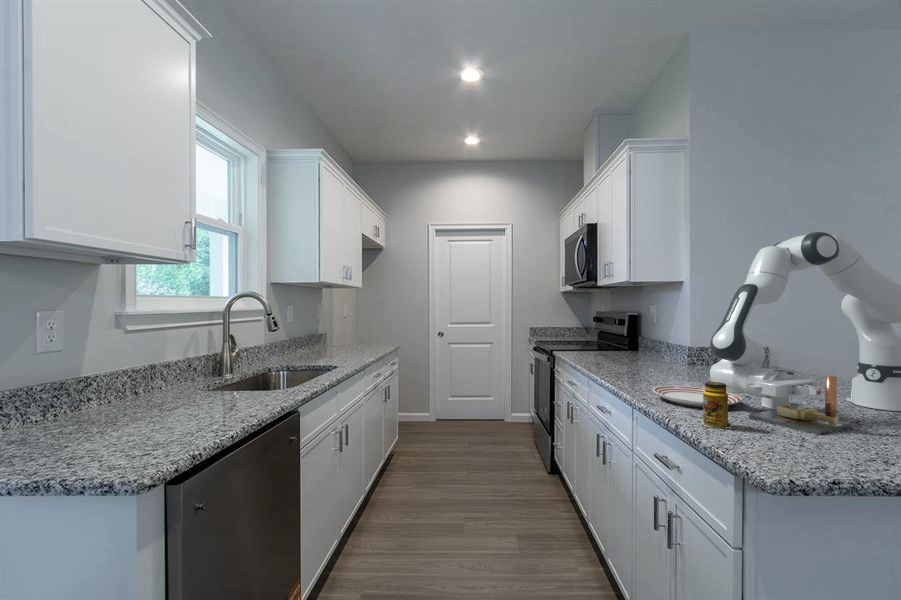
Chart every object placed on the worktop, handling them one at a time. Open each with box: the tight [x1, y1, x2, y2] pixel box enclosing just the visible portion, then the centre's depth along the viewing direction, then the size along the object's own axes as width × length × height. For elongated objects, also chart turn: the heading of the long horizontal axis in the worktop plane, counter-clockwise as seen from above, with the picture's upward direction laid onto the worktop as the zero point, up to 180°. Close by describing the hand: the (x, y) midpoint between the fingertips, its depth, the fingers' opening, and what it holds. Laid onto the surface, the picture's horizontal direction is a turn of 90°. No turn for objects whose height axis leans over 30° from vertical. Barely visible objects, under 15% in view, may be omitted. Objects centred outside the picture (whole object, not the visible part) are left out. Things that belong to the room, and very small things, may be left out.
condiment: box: [700, 381, 733, 430], centre depth 128 cm, size 7×8×12 cm
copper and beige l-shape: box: [777, 375, 839, 423], centre depth 129 cm, size 14×7×13 cm, turn 22°
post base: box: [748, 402, 852, 435], centre depth 130 cm, size 17×18×5 cm
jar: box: [761, 369, 796, 410], centre depth 148 cm, size 9×8×12 cm
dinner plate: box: [652, 385, 743, 408], centre depth 157 cm, size 27×27×3 cm
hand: (818, 391), depth 124 cm, fingers closed
